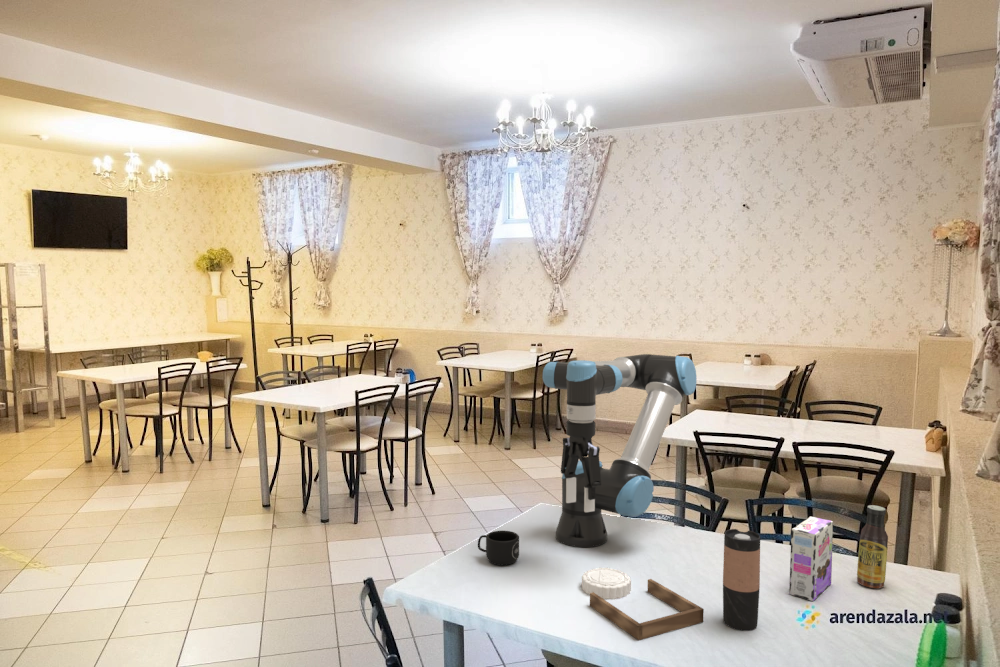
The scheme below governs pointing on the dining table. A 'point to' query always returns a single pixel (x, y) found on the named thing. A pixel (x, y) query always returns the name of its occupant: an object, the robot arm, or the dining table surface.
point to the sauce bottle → (873, 549)
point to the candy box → (811, 558)
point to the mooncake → (606, 583)
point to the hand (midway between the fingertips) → (580, 506)
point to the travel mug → (741, 579)
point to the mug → (501, 547)
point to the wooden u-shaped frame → (685, 618)
